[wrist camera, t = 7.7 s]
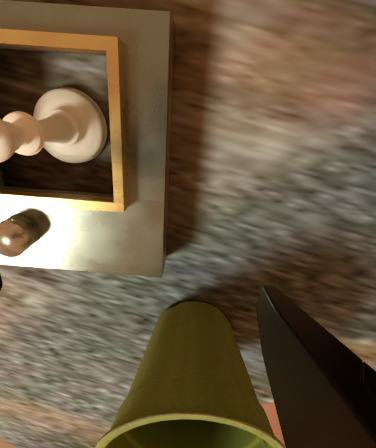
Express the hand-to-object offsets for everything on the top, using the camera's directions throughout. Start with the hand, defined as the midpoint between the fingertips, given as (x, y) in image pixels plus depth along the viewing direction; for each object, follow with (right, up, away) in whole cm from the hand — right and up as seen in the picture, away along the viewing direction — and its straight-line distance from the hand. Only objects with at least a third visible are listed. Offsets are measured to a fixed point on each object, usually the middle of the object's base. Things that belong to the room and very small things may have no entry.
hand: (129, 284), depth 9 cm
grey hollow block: (-6, +7, +10) cm, 14 cm away
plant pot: (+3, -8, +17) cm, 19 cm away
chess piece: (-6, +9, +10) cm, 15 cm away
